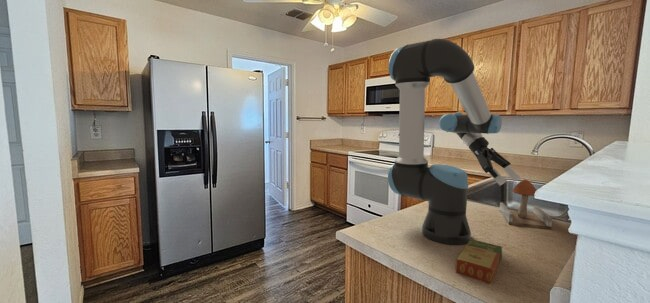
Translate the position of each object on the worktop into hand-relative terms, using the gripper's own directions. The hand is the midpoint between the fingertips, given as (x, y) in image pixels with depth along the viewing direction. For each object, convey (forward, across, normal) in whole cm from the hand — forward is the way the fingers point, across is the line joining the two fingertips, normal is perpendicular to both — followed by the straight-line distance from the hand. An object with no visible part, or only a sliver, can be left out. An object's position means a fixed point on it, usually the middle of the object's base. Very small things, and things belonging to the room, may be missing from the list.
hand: (510, 181), depth 114 cm
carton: (+19, +50, -2) cm, 54 cm away
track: (+14, +1, -6) cm, 15 cm away
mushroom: (+13, +1, -5) cm, 14 cm away
